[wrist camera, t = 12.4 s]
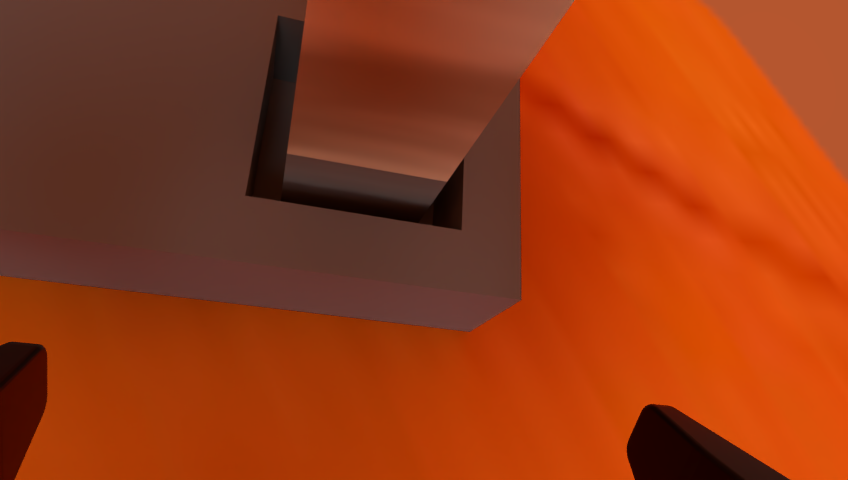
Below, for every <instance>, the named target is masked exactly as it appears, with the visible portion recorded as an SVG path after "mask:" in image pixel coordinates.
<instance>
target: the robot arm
mask: <svg viewBox="0 0 848 480" xmlns="http://www.w3.org/2000/svg"><path fill="white" fill-rule="evenodd" d="M46 402H47V352H46V349H45V348H44V347H43V346H42V345H40V344H30V343H20V342H8V343H6V344H3V345H1V346H0V480H15V477H16V475H17V473H18V470H19V468H20V466H21V464H22V461H23V459H24V457H25V454H26V452H27V450H28V448H29V445H30V443H31V441H32V438H33V436H34V434H35V432H36V429H37V427H38V425H39V422H40V420H41V418H42V415H43V413H44V410H45V406H46ZM627 456H628V460H629V463H630V466H631V469H632V472H633V475H634V478H635V480H790V479H788V478H787V477H785V476H783V475H782V474H780V473H778V472H777V471H775V470H774V469H772V468H770V467H769V466H767V465H766V464H764V463H762V462H761V461H759V460H758V459H756V458H754V457H753V456H751V455H749V454H748V453H746V452H745V451H743V450H741V449H740V448H738V447H737V446H735V445H733V444H732V443H730V442H729V441H727V440H725V439H724V438H722V437H720V436H719V435H717V434H716V433H714V432H712V431H711V430H709V429H708V428H706V427H704V426H703V425H701V424H700V423H698V422H696V421H695V420H693V419H691V418H690V417H688V416H687V415H685V414H683V413H682V412H680V411H679V410H677V409H675V408H674V407H671V406H667V405H656V404H649V405H647V406H645V407H644V408H643V410H642V411H641V414H640V416H639V418H638V420H637V422H636V425H635V427H634V429H633V431H632V434H631V436H630V438H629V440H628V444H627Z"/></svg>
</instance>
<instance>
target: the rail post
mask: <svg viewBox="0 0 848 480" xmlns="http://www.w3.org/2000/svg"><path fill="white" fill-rule="evenodd" d="M573 2H574V0H307V7H306V15H305V22H304V30H303V37H302V44H301V52H300V59H299V67H298V74H297V82H296V89H295V97H294V104H293V112H292V119H291V126H290V134H289V141H288V149H287V156H286V164H285V171H284V179H283V186H282V194H281V201H282V202H288V203H294V204H301V205H307V206H313V207H319V208H326V209H332V210H338V211H344V212H350V213H357V214H363V215H369V216H375V217H382V218H388V219H394V220H400V221H407V222H413V223H419V221H420V220H421V218H422V217H423V215H424V214H425V213H426V211H427V210H428V208H429V207H430V205H431V204H432V203H433V201H434V200H435V198H436V197H437V195H438V194H439V193H440V191H441V190H442V188H443V187H444V186H445V184H446V183H447V181H448V180H449V178H450V177H451V176H452V174H453V173H454V171H455V170H456V168H457V167H458V166H459V164H460V163H461V161H462V160H463V158H464V157H465V156H466V154H467V153H468V151H469V150H470V148H471V147H472V146H473V144H474V143H475V141H476V140H477V138H478V137H479V136H480V134H481V133H482V131H483V130H484V128H485V127H486V126H487V124H488V123H489V121H490V120H491V119H492V117H493V116H494V114H495V113H496V111H497V110H498V109H499V107H500V106H501V104H502V103H503V101H504V100H505V99H506V97H507V96H508V94H509V93H510V91H511V90H512V89H513V87H514V86H515V84H516V83H517V81H518V80H519V79H520V77H521V76H522V74H523V73H524V71H525V70H526V69H527V67H528V66H529V64H530V63H531V62H532V60H533V59H534V57H535V56H536V54H537V53H538V52H539V50H540V49H541V47H542V46H543V44H544V43H545V42H546V40H547V39H548V37H549V36H550V34H551V33H552V32H553V30H554V29H555V27H556V26H557V24H558V23H559V22H560V20H561V19H562V17H563V16H564V14H565V13H566V12H567V10H568V9H569V7H570V6H571V5H572V3H573Z"/></svg>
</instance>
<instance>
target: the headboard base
mask: <svg viewBox="0 0 848 480" xmlns="http://www.w3.org/2000/svg"><path fill="white" fill-rule="evenodd" d="M306 7H307V0H0V276H9V277H17V278H25V279H34V280H42V281H51V282H59V283H67V284H76V285H84V286H92V287H101V288H109V289H117V290H126V291H134V292H142V293H151V294H159V295H168V296H176V297H184V298H193V299H201V300H209V301H218V302H226V303H234V304H243V305H251V306H259V307H268V308H276V309H285V310H293V311H301V312H310V313H318V314H326V315H335V316H343V317H351V318H360V319H368V320H377V321H385V322H393V323H402V324H410V325H418V326H427V327H435V328H443V329H452V330H460V331H468V332H470V331H472V330H473V329H475V328H477V327H478V326H480V325H481V324H483V323H485V322H486V321H488V320H489V319H491V318H493V317H494V316H496V315H498V314H499V313H501V312H502V311H504V310H506V309H507V308H509V307H511V306H512V305H514V304H515V303H517V302H519V301H520V300H521V192H520V79H519V80H518V81H517V83H516V84H515V86H514V87H513V89H512V90H511V91H510V93H509V94H508V96H507V97H506V99H505V100H504V101H503V103H502V104H501V106H500V107H499V109H498V110H497V111H496V113H495V114H494V116H493V117H492V119H491V120H490V121H489V123H488V124H487V126H486V127H485V128H484V130H483V131H482V133H481V134H480V136H479V137H478V138H477V140H476V141H475V143H474V144H473V146H472V147H471V148H470V150H469V151H468V153H467V154H466V156H465V157H464V158H463V160H462V161H461V163H460V164H459V166H458V167H457V168H456V170H455V171H454V173H453V174H452V176H451V177H450V178H449V180H448V181H447V183H446V184H445V186H444V187H443V188H442V190H441V191H440V193H439V194H438V195H437V197H436V198H435V200H434V201H433V203H432V204H431V205H430V207H429V208H428V210H427V211H426V213H425V214H424V215H423V217H422V218H421V220H420V221H419V223H413V222H407V221H400V220H394V219H388V218H382V217H375V216H369V215H363V214H357V213H350V212H344V211H338V210H332V209H326V208H319V207H313V206H307V205H301V204H294V203H288V202H282V201H281V194H282V186H283V179H284V171H285V164H286V156H287V149H288V141H289V134H290V126H291V119H292V112H293V104H294V97H295V89H296V82H297V74H298V67H299V59H300V52H301V44H302V37H303V30H304V22H305V15H306Z"/></svg>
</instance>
